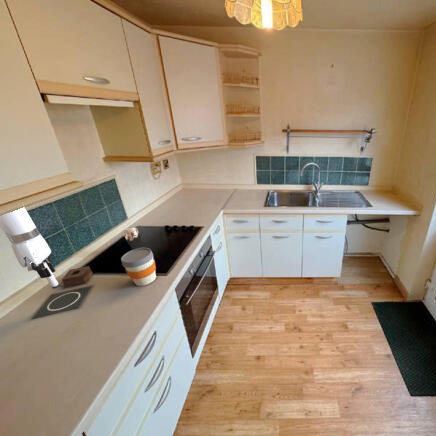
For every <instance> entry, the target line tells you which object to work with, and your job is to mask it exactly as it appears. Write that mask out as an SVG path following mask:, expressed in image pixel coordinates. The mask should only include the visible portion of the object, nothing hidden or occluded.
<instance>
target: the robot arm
mask: <svg viewBox="0 0 436 436" xmlns="http://www.w3.org/2000/svg"><path fill="white" fill-rule="evenodd" d="M32 219H33V218H31V216H30V214H29V212H28V211H27V209H26V207H25V206H24V207H23V208H20V209H18V210H15V211H13V212H10V213H7V214H4V215H2V216H0V228H1V230H2V231H3V233H4V234H5V235H6V237H7V239H8V240H9V242H10V243H11V248H12V251H13V253H14V256H15V258H16V259H17V261H18V263H19V265H20V266H21V267H22V268H27V271H28V272H32V271H34V272H36V273H37V274H38V276H39V278H40V279H46V277H51V276H52V275H51V273H50V272H49V270H48V268H45V266H44V264H43V263H42V262H46V264H47V265H48V267H49V269H50V270H51V272H52V274H54V273H55V272H56V269H55V267H54V266H53V264H52V260H51V254H52V250H51V247H50V246H49V244H48V242H47V241H46V239H45V238H44V237H43V235H42V234H41V233H40V231H39V230H38V228H37V226H36V224H35V223H34V221H33V220H32ZM38 265H40V266H38Z"/></svg>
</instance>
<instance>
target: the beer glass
mask: <svg viewBox="0 0 436 436" xmlns="http://www.w3.org/2000/svg"><path fill="white" fill-rule="evenodd" d="M123 235H124V238H125V240H126V242H127V244H128V246H129V247H130V249H131V250H134V249H138V248H144V247H143V244H142V238H141V234H140V231H139V229H138V227H133V226H132V227H128V228H126V229H124V230H123Z"/></svg>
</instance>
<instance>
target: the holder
mask: <svg viewBox="0 0 436 436" xmlns="http://www.w3.org/2000/svg"><path fill="white" fill-rule="evenodd" d="M92 275H93V271H92V269H91V268H90V265H87V266H82V267H81V266H80V267H77V268H72V269H69V270H68V271H67V272H66V273H65V275H64V276H63V277H62V278H61V282H62V284H63V285H64V288H70V287H73V286H80V285H84V284H87V283H88V281H89V280H90V279H91V277H92Z"/></svg>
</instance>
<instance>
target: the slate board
mask: <svg viewBox="0 0 436 436" xmlns="http://www.w3.org/2000/svg"><path fill="white" fill-rule="evenodd" d="M91 288H92V285H91V286H86V287H82V288H77V289H72V290H67V291H63V292H59V293H58V292H57V293H54V294H51V295H50V296H49V297H48V298H47V300H46V301H45V302H44V303H43V305H42V306H41V307H40V308H39V310H38V311H37V312H36V313H35V315H34V316H33V317H32V320H34V319H38V318H42V317H47V316H51V315H56V314H59V313H63V312H68V311H72V310H76V309H79V308H80V306H81V305H82V303H83V301H84V300H85V298H86V296H87V295H88V293H89V292H90V290H91Z"/></svg>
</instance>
